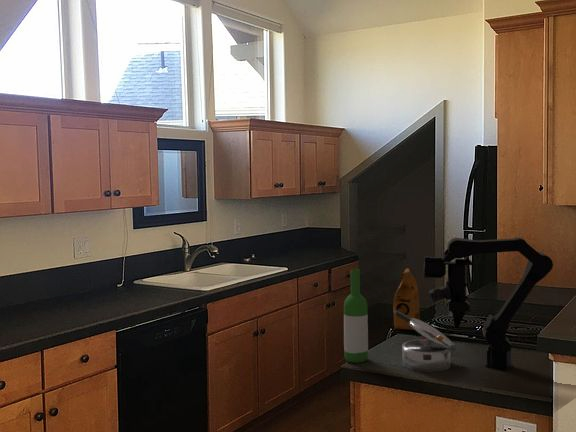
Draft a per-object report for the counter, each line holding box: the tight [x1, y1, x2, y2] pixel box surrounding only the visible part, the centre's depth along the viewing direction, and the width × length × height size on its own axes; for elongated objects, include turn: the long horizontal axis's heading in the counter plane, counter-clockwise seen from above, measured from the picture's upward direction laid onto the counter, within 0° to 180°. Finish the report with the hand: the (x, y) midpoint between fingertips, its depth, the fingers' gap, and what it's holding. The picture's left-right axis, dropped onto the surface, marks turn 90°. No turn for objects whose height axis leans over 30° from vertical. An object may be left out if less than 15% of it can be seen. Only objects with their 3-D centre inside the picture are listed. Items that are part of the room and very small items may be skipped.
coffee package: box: [393, 267, 420, 331], centre depth 254 cm, size 10×12×22 cm
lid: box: [395, 310, 457, 351], centre depth 207 cm, size 21×15×2 cm
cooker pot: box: [401, 338, 451, 373], centre depth 208 cm, size 15×19×6 cm
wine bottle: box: [343, 268, 369, 364], centre depth 212 cm, size 8×8×30 cm
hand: (456, 327), depth 205 cm, fingers closed
